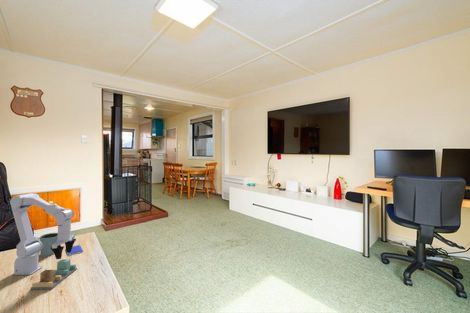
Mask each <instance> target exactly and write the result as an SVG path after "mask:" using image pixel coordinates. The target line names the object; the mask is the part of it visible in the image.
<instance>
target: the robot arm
mask: <svg viewBox="0 0 470 313" xmlns="http://www.w3.org/2000/svg"><path fill="white" fill-rule="evenodd" d="M9 203H10V207H11V211H12V215H13V219H14V221H15V225H16V229H17V232H18V236H19V239H20V240H19V242H18V244H16V246H15V247H16V256H17V257H16V258H15V260H14V263H13V264H14V266H13V267H14V268H13V269H14V270H13V271H14V272H13V273H12V275H13V276H16V275H17V276H19V275H20V276H21V275H22V276H23V275H24V276H25V275H29V276H30V275H32V274H34V273H36V272H37V271H38V270H40V269H42V268H43V266H41V265H39V254H40V252H41V251H40V250H41V249H42V247H43V245H42V243H41V242H40V237H37V236H35V235H34V232H33V229H32V225H31V222H30V218H29V214H28V212H27V211H28V210H29V209H30V208H31V207H32V206H33V205H34V206H36V207H38V208H40V209H42V210H44V213H46V214H47V215H50V216H51V217H54V220H55V222H56V225H57V233H58V240H57V241H56V242H55V243H54V244H53V245H52V247H51V250H52V251H53V252H54V254H53V255H54V257H55V259H56V260H61V259H62V256H63V250H64V248H65V253H66V254H67V253H70V252H71V250H72V247H73V246H74V244H75V243H76V240H77V239H76V238H75V236H76V235H75V234H71V233H72V232H71V231H72V230H71V229H72V227H71V226H72V225H71V224H72V218H73V217H74V214H75V213H74V210H73V209H71V208H65V207H62V206H59V205H58V204H57V203H49V202H47V201H46V200H44V199H43V198H41V197H40V196H39V194H37V193H35V192H30V193H24V194H18V195H17V194H16V195H14V196H12V197H11V198H10V200H9ZM63 244H64V245H65V246H64V245H63ZM62 245H63V246H62Z"/></svg>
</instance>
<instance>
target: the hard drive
mask: <svg viewBox="0 0 470 313" xmlns="http://www.w3.org/2000/svg"><path fill="white" fill-rule="evenodd" d="M76 253H77V254H81V253H84V250H83V247H82V246H81V245H80V244H77V245H73V247H72V250H71V252H70V253H66V254H67V257H69V256H73V255H76Z"/></svg>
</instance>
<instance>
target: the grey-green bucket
mask: <svg viewBox="0 0 470 313" xmlns="http://www.w3.org/2000/svg"><path fill="white" fill-rule="evenodd" d="M39 240H40V242H41V243H42V245H43V247H42V249H41V250H40V253H39V254H40V256H41V257H49V256H52V255H55V254H54V252H53V251H52V250H51V247H52V245H53V244H54V243H55V242H56V241H57V240H58V232H50V233H46V234H42V235H40V236H39Z"/></svg>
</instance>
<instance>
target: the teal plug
mask: <svg viewBox="0 0 470 313" xmlns="http://www.w3.org/2000/svg"><path fill="white" fill-rule="evenodd" d="M70 265H71V259H70V258H69V259H68V258H66V259H65V258H61V259H58V261H56V270H70Z"/></svg>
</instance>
